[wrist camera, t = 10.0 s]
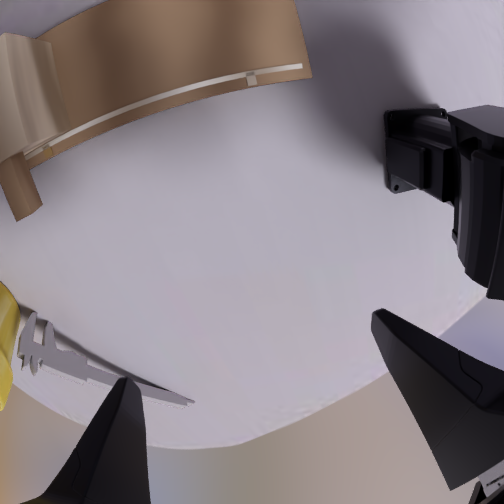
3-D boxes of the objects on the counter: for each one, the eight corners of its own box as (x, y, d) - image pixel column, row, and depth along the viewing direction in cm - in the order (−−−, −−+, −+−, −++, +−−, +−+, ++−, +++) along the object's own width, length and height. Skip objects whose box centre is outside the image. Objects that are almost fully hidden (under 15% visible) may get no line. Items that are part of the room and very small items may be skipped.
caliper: (31, 313, 21) (7, 362, 16) (34, 307, 21) (9, 356, 15) (189, 402, 31) (192, 448, 25) (195, 399, 30) (198, 446, 25)
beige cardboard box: (51, 42, 10) (5, 32, 6) (87, 174, 15) (51, 205, 10) (3, 75, 10) (-47, 78, 6) (39, 197, 14) (-2, 232, 10)
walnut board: (274, -26, 12) (282, -38, 10) (301, 79, 16) (313, 77, 14) (-3, 78, 11) (-20, 79, 9) (22, 173, 15) (8, 182, 13)
